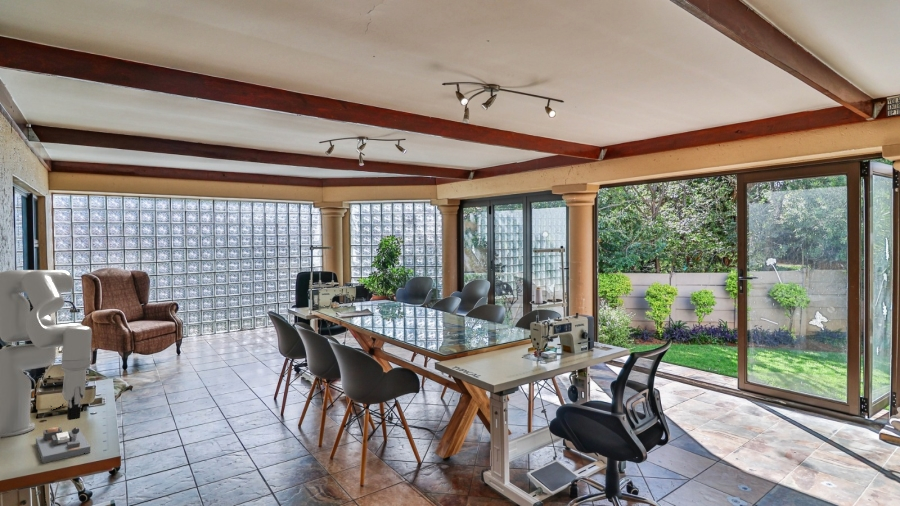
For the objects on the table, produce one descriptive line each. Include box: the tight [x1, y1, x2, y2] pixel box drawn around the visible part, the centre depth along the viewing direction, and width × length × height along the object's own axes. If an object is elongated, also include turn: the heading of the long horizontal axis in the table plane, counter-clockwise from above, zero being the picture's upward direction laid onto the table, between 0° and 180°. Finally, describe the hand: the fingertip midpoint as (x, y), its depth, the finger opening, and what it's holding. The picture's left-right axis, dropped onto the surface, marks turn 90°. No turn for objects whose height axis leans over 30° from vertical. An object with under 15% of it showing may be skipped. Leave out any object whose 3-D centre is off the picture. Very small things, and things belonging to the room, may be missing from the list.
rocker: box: [56, 430, 70, 443], centre depth 160 cm, size 5×3×1 cm, turn 46°
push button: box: [46, 426, 59, 433], centre depth 163 cm, size 3×3×3 cm
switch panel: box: [35, 427, 91, 464], centre depth 160 cm, size 22×12×4 cm, turn 46°
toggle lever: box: [71, 427, 80, 442], centre depth 155 cm, size 2×2×6 cm
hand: (73, 418), depth 156 cm, fingers closed
